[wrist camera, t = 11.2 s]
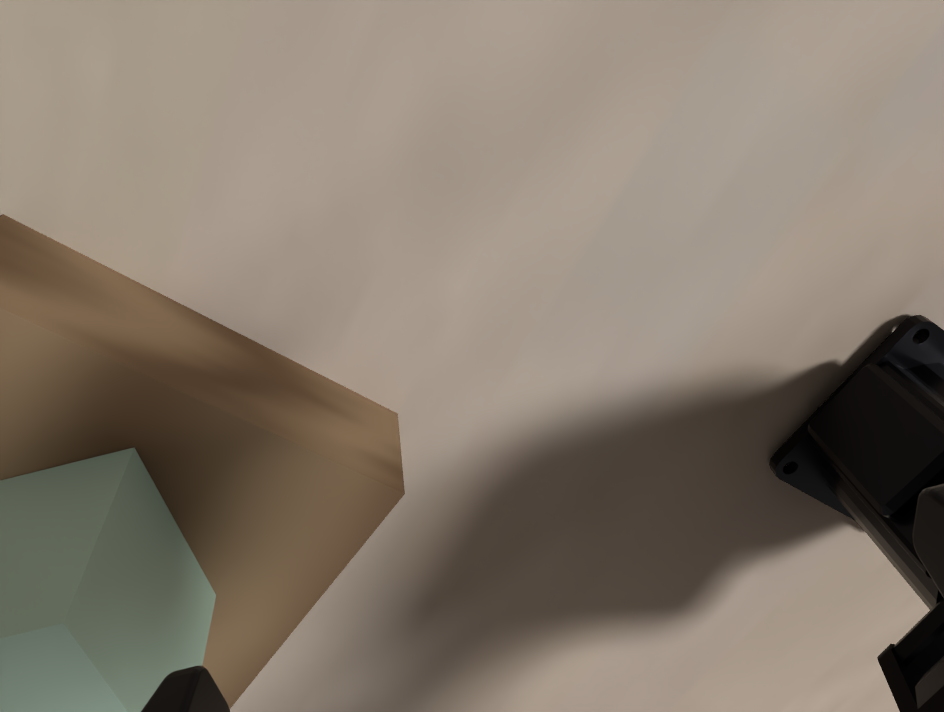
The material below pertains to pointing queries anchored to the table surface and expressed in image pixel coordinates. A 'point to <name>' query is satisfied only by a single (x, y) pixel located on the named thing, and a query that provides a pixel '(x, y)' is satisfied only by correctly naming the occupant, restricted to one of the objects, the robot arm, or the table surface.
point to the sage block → (94, 589)
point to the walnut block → (195, 436)
